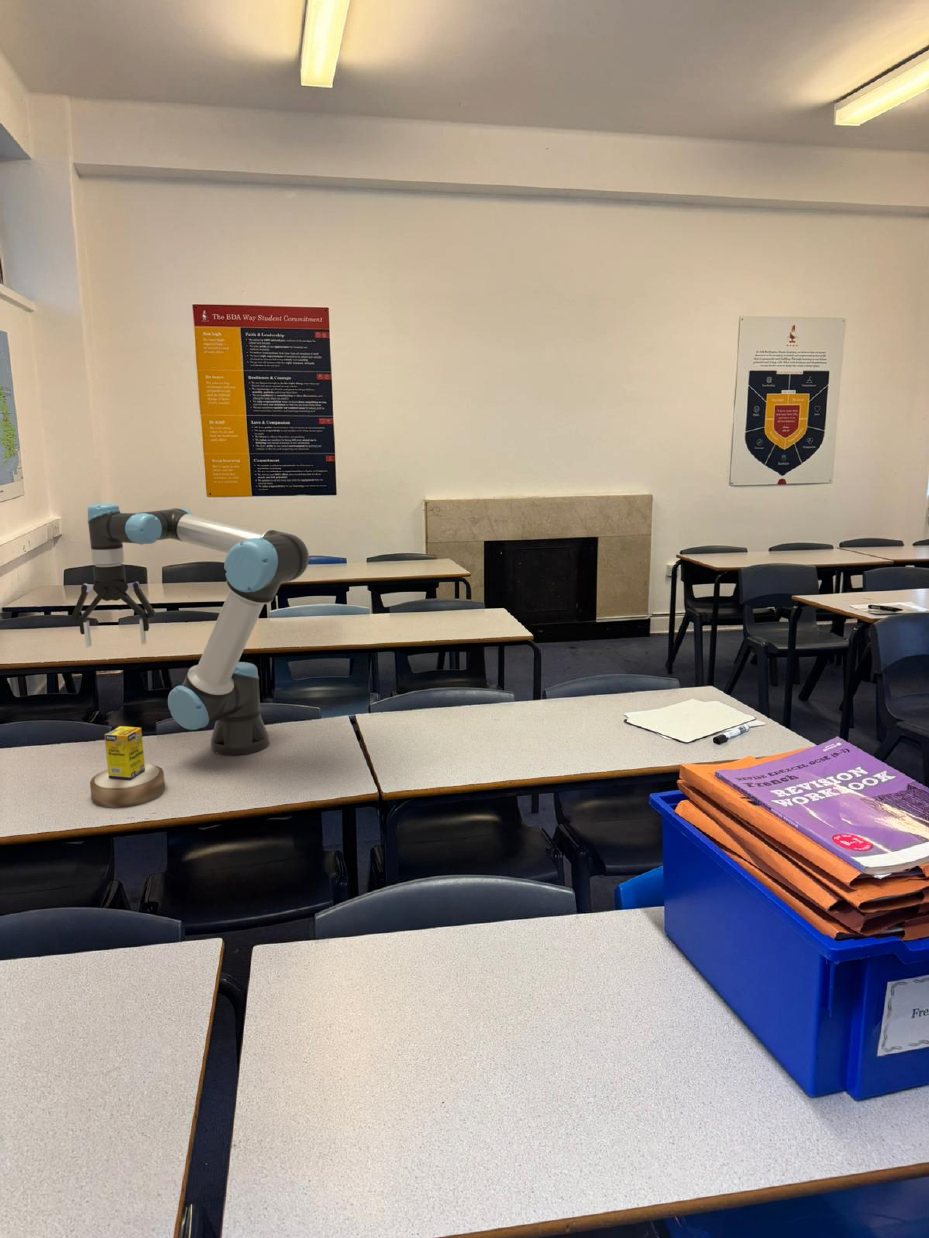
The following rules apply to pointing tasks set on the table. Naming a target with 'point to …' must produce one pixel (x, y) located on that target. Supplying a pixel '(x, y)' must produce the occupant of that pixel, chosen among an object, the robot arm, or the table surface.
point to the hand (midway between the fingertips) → (116, 644)
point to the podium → (127, 788)
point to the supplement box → (124, 753)
